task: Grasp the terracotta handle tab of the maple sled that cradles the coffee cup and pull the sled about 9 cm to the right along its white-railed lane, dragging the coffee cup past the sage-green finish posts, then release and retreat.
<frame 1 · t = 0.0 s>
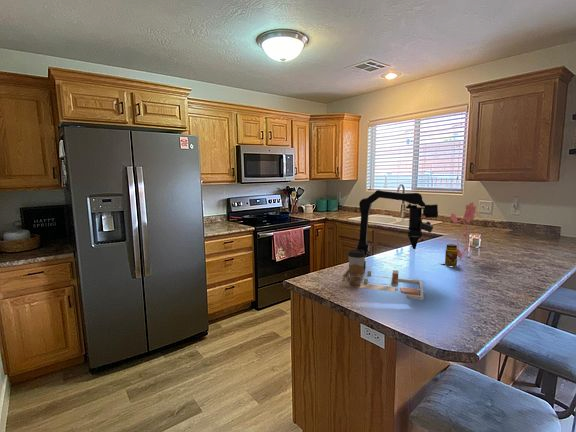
hand: (414, 247, 158), 15 cm above the worktop, fingers open, 9 cm apart
coffee cup: (356, 280, 152), resting in sled
sled: (370, 275, 149), point 3 cm above the worktop, slide at 0.0 cm
broken strip: (368, 287, 139), point 1 cm above the worktop, slide at 0.0 cm, touching walnut cube
walnut cube: (354, 284, 142), point 1 cm above the worktop, touching broken strip
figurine: (467, 258, 190), on the worktop
condiment: (449, 265, 177), on the worktop
lane tray: (369, 284, 146), on the worktop
brown flat block: (409, 295, 133), resting in lane tray
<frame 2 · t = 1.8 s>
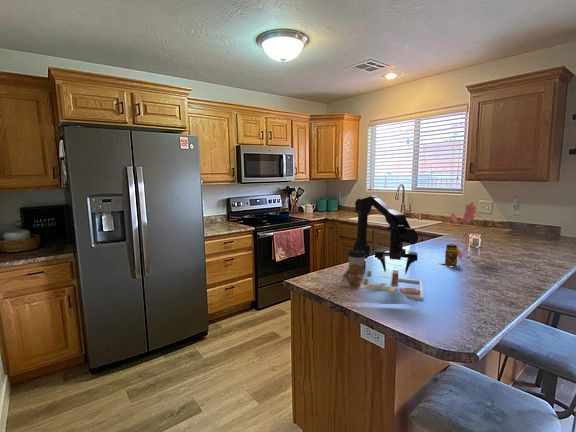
hand: (395, 272, 145), 6 cm above the worktop, fingers open, 9 cm apart
nothing on the worktop moved.
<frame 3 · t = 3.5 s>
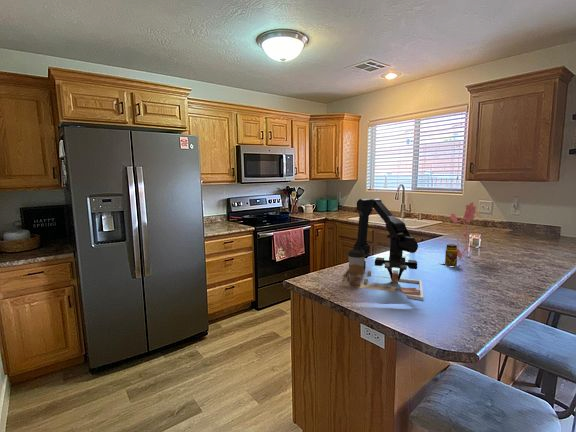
hand: (395, 280, 145), 2 cm above the worktop, fingers closed on sled, 2 cm apart
sled: (370, 275, 149), point 3 cm above the worktop, slide at 0.0 cm, touching gripper
everything else where it was.
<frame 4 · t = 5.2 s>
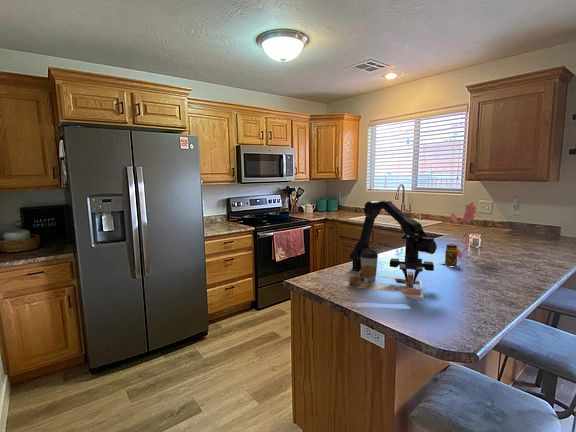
hand: (410, 282, 142), 2 cm above the worktop, fingers closed on sled, 3 cm apart
coffee cup: (368, 282, 150), resting in sled
sled: (385, 277, 146), point 3 cm above the worktop, slide at 6.6 cm, touching gripper
everything else where it was.
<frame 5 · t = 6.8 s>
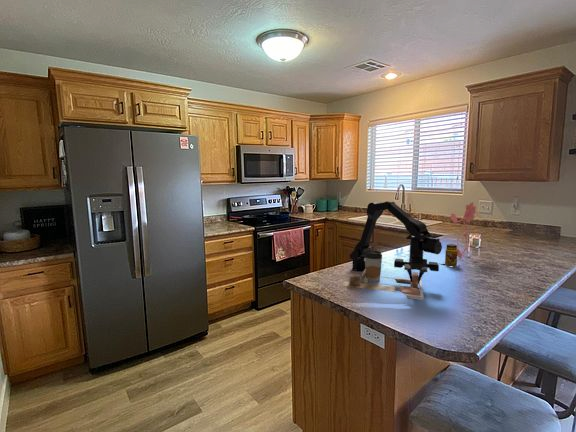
hand: (415, 282, 142), 2 cm above the worktop, fingers closed on sled, 2 cm apart
coffee cup: (372, 282, 149), resting in sled
sled: (389, 277, 146), point 3 cm above the worktop, slide at 8.7 cm, touching coffee cup, gripper
everything else where it was.
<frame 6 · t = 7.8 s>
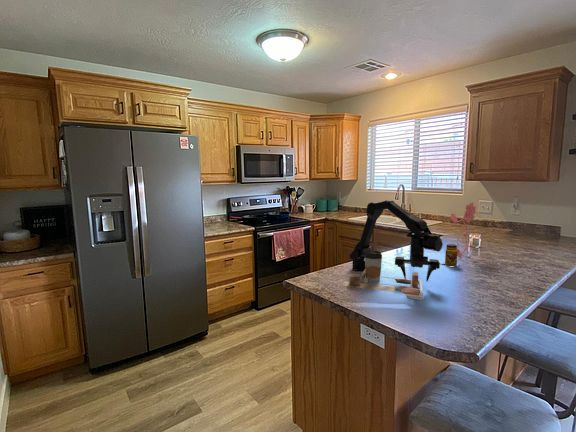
hand: (415, 280, 141), 3 cm above the worktop, fingers open, 9 cm apart
coffee cup: (372, 282, 149), resting in sled
sled: (389, 277, 146), point 3 cm above the worktop, slide at 8.7 cm
everything else where it was.
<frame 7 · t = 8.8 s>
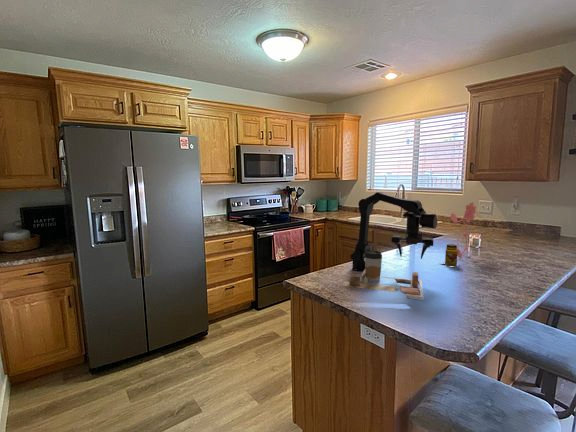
hand: (411, 257, 150), 11 cm above the worktop, fingers open, 9 cm apart
nothing on the worktop moved.
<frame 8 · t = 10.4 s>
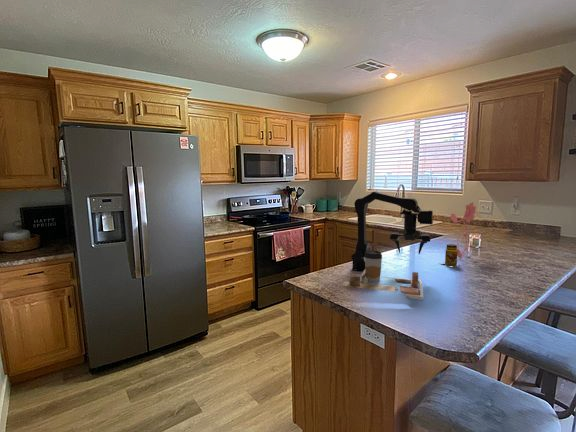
hand: (409, 253, 156), 12 cm above the worktop, fingers open, 9 cm apart
nothing on the worktop moved.
at the end: coffee cup inside the target area (2.0 cm from its centre), resting in sled; coffee cup tilted 0°; sled slide at 8.7 cm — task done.
